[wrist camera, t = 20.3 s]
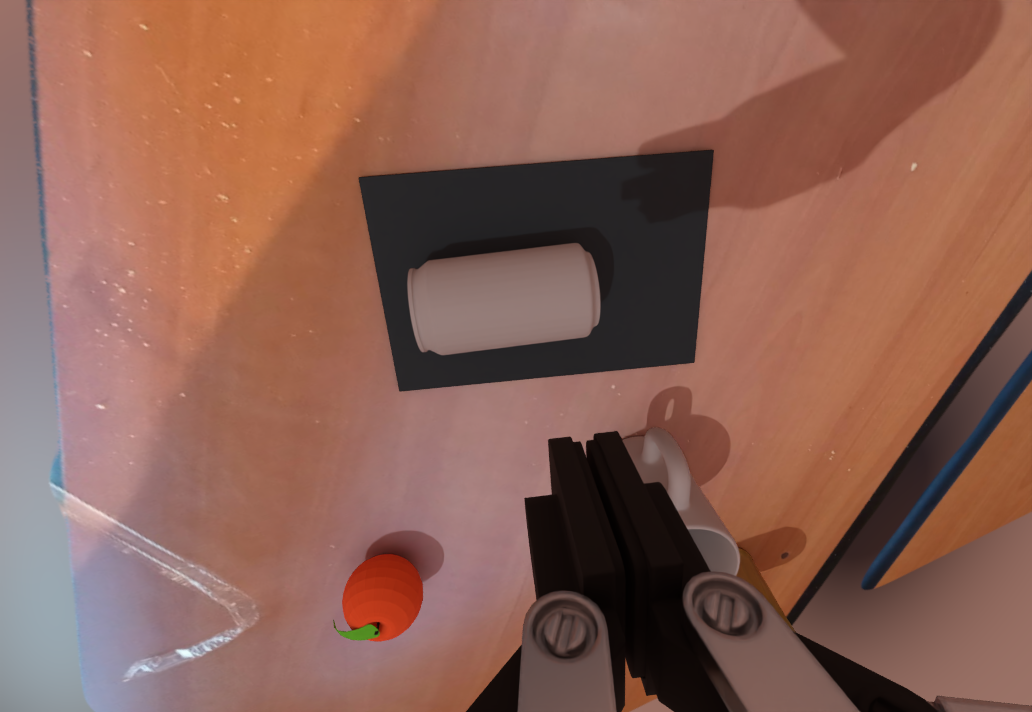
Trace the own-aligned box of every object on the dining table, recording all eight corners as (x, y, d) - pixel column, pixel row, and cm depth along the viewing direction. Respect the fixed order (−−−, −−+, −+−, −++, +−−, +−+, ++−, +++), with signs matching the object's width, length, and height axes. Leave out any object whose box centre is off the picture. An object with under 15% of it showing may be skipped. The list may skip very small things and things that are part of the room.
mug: (675, 507, 45) (732, 609, 35) (587, 514, 45) (619, 619, 35) (690, 396, 40) (760, 478, 30) (591, 403, 40) (630, 488, 30)
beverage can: (597, 353, 33) (426, 376, 33) (579, 284, 37) (424, 304, 36) (608, 293, 28) (403, 320, 27) (585, 220, 31) (404, 242, 31)
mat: (711, 149, 33) (714, 149, 32) (692, 360, 39) (694, 362, 39) (359, 177, 32) (358, 177, 31) (400, 389, 38) (399, 391, 38)
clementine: (362, 602, 47) (343, 674, 40) (329, 553, 44) (304, 623, 38) (437, 578, 47) (431, 648, 40) (409, 528, 44) (398, 594, 37)
